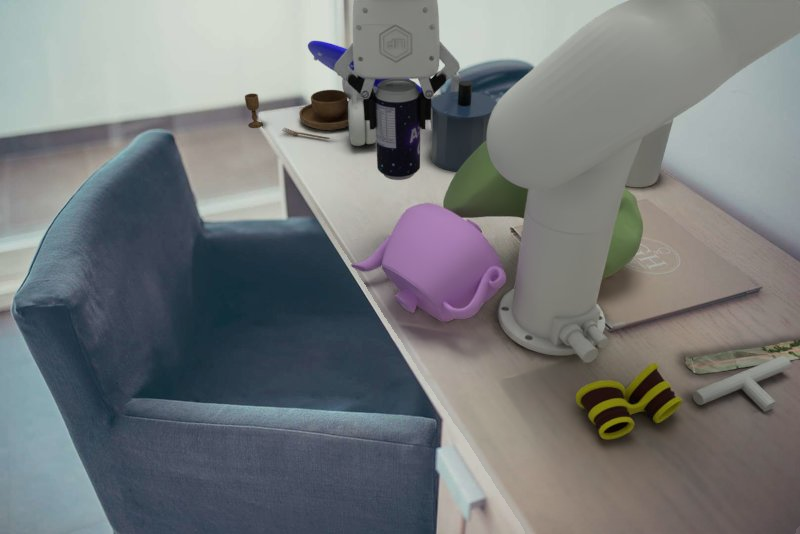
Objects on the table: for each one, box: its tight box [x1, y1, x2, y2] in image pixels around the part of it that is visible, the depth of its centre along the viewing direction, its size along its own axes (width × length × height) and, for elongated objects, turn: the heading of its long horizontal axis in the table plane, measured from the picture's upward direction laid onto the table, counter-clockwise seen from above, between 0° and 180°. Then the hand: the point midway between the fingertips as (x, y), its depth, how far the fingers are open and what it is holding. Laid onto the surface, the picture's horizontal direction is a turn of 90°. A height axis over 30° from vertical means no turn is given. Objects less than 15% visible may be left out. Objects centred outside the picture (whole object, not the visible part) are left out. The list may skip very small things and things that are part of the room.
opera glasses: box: [575, 362, 683, 440], centre depth 65 cm, size 10×5×5 cm, turn 112°
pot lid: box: [431, 80, 498, 120], centre depth 106 cm, size 11×11×5 cm
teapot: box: [350, 202, 507, 322], centre depth 77 cm, size 20×13×12 cm
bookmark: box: [684, 339, 800, 375], centre depth 73 cm, size 3×21×1 cm, turn 101°
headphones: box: [347, 70, 462, 147], centre depth 112 cm, size 20×8×19 cm, turn 97°
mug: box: [625, 119, 674, 188], centre depth 104 cm, size 12×8×11 cm
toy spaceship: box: [307, 40, 421, 101], centre depth 125 cm, size 25×25×7 cm
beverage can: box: [375, 79, 421, 181], centre depth 83 cm, size 6×6×12 cm
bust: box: [442, 140, 644, 280], centre depth 81 cm, size 14×15×25 cm
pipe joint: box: [691, 356, 792, 413], centre depth 67 cm, size 12×2×4 cm
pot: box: [430, 110, 491, 173], centre depth 110 cm, size 10×10×10 cm
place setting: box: [244, 89, 349, 140], centre depth 125 cm, size 18×20×6 cm
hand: (397, 123), depth 82 cm, fingers closed on beverage can, 5 cm apart
